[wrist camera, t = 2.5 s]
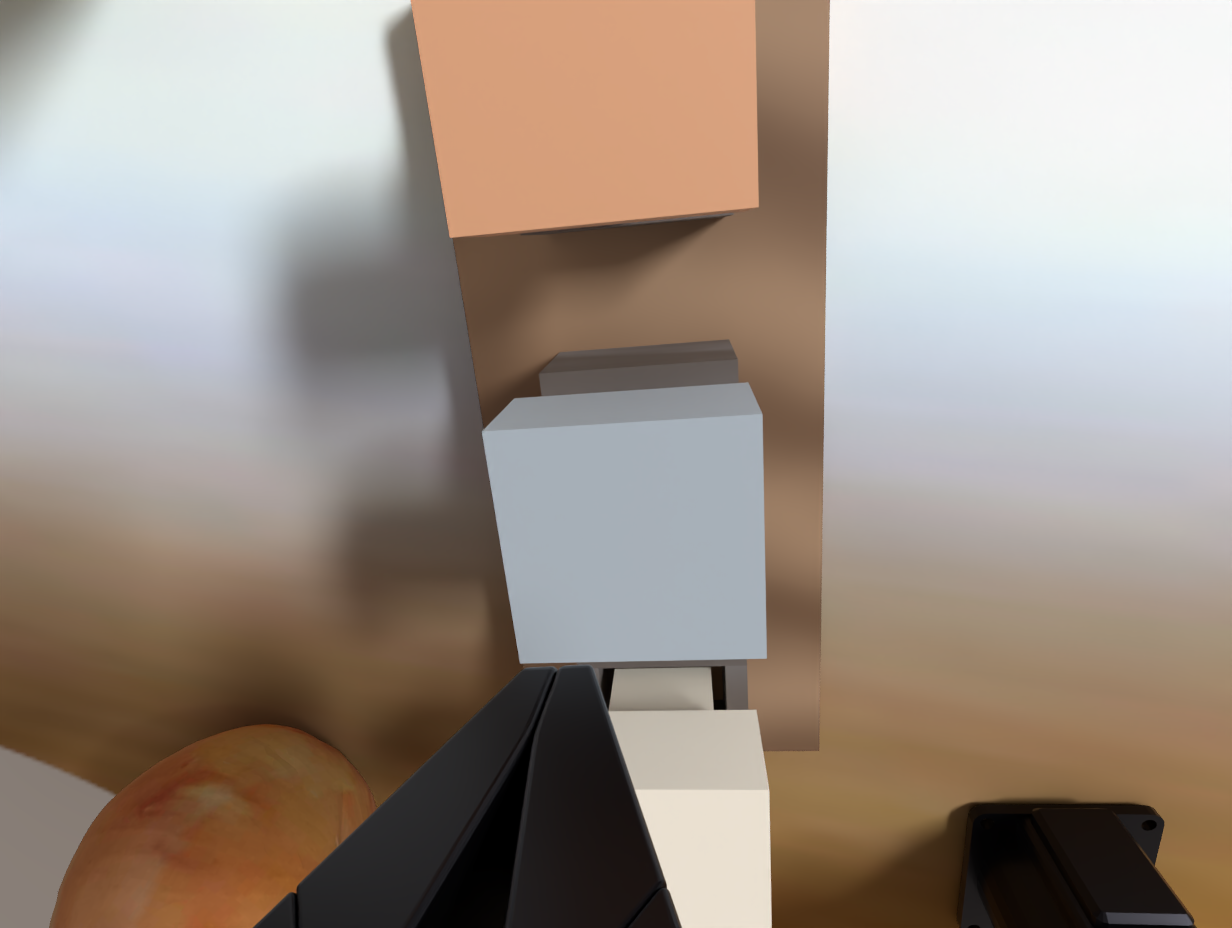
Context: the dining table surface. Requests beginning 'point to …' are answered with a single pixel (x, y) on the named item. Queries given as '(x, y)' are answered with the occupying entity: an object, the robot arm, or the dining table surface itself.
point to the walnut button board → (700, 345)
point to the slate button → (632, 524)
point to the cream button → (698, 793)
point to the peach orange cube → (589, 110)
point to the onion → (214, 833)
